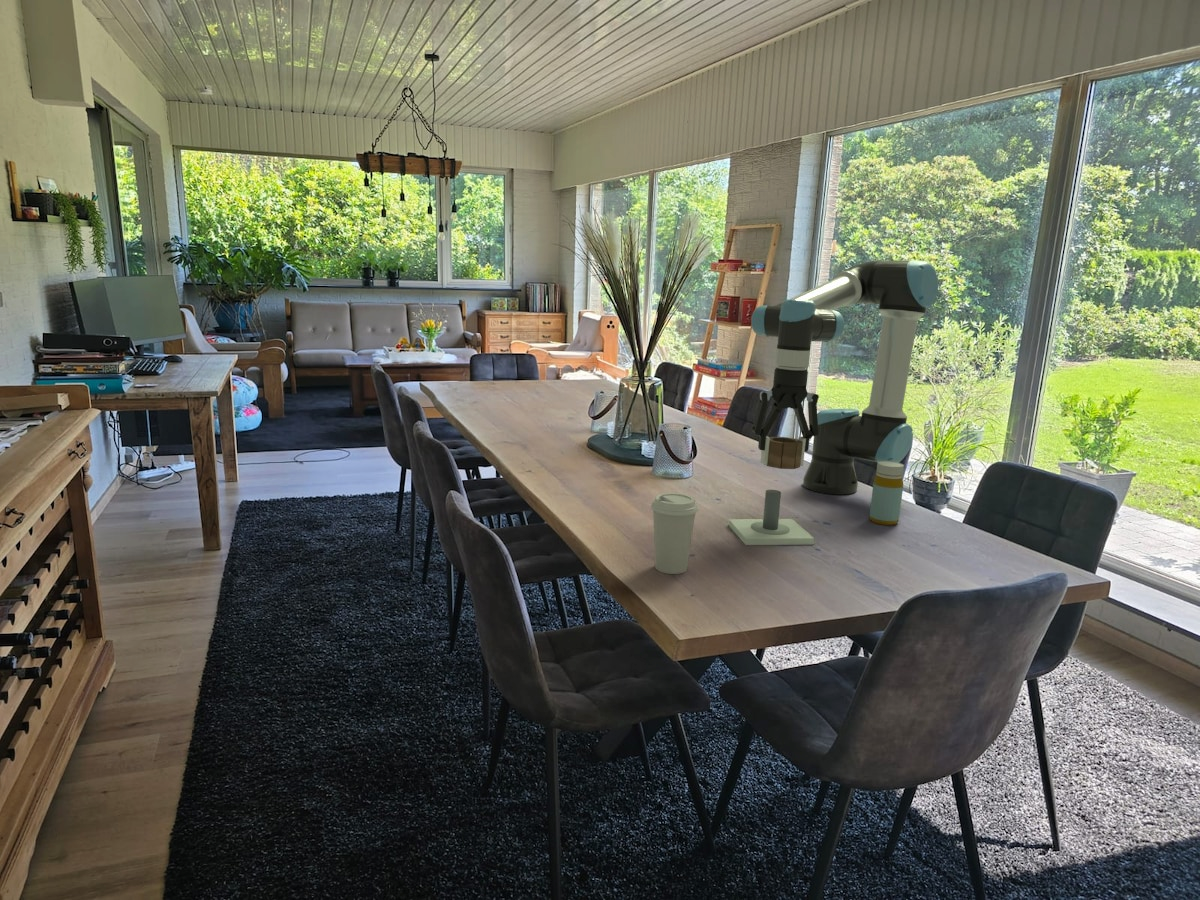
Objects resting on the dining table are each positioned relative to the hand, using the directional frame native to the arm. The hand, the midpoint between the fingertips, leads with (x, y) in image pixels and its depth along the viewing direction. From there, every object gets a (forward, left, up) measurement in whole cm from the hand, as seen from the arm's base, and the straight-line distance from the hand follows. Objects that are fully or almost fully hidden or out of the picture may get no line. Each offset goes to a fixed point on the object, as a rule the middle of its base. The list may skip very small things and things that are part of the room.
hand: (781, 463), depth 182 cm
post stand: (+3, +4, -16) cm, 17 cm away
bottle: (-30, -5, -16) cm, 35 cm away
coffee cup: (+31, +24, -16) cm, 42 cm away
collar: (0, 0, 0) cm, 0 cm away
